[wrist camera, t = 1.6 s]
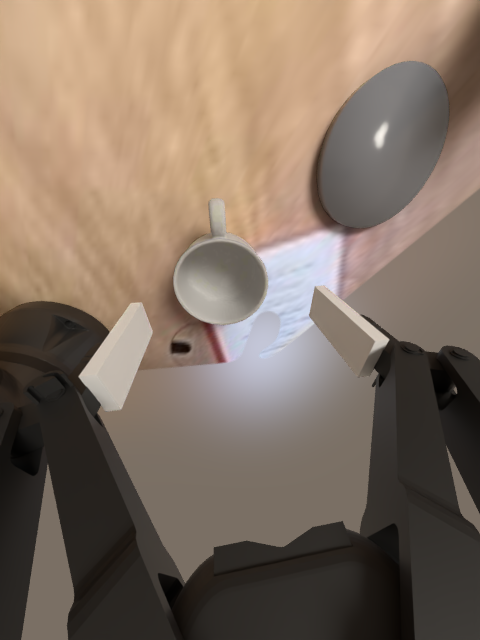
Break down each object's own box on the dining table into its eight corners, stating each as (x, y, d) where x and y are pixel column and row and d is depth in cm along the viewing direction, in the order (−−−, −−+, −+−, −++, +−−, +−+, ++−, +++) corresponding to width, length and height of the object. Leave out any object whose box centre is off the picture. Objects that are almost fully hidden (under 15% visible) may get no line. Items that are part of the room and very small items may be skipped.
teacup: (247, 301, 32) (256, 329, 26) (180, 294, 30) (172, 323, 23) (268, 207, 25) (289, 213, 18) (182, 189, 23) (171, 188, 16)
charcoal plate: (307, 229, 27) (312, 231, 26) (332, 68, 19) (340, 59, 18) (401, 223, 28) (410, 224, 27) (462, 70, 20) (479, 62, 19)
